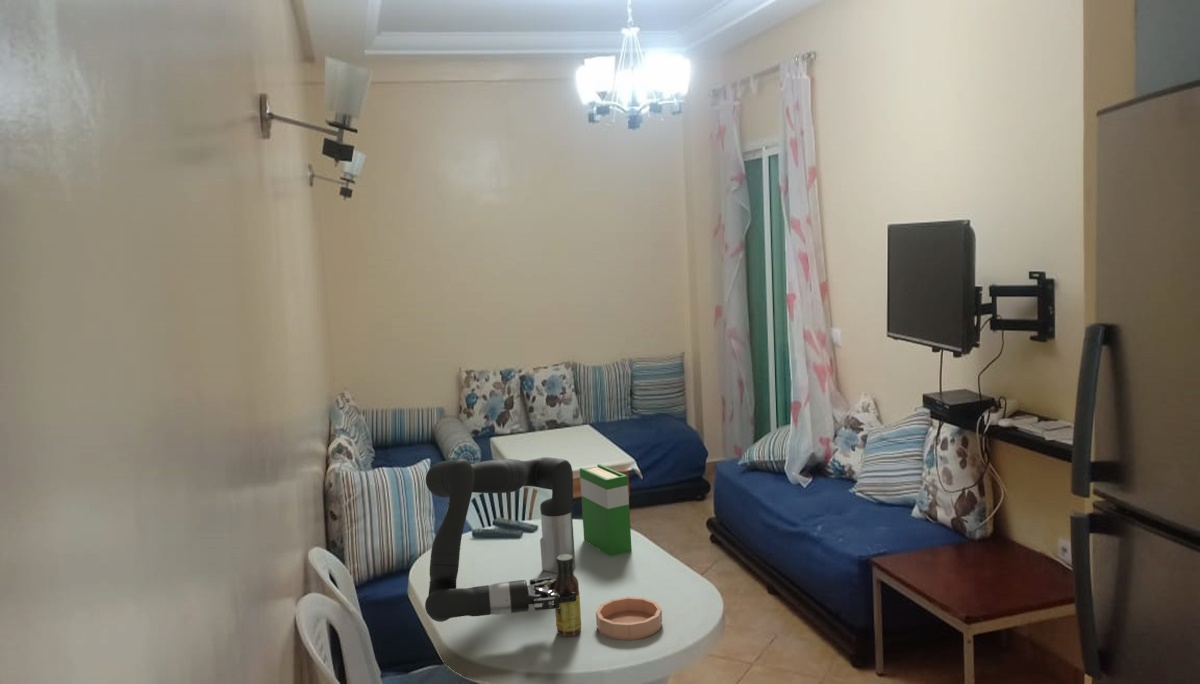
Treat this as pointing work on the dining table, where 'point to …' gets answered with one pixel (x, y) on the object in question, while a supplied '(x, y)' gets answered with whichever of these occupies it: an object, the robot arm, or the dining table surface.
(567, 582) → the sauce bottle
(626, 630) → the terracotta bowl
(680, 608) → the dining table surface
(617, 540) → the hardback book
